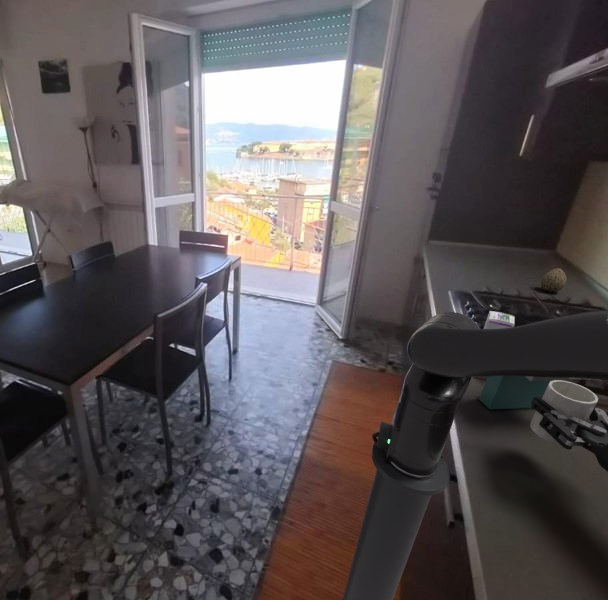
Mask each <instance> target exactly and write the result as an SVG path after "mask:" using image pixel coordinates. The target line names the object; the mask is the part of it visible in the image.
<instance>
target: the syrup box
mask: <svg viewBox="0 0 608 600" xmlns="http://www.w3.org/2000/svg"><path fill="white" fill-rule="evenodd" d="M515 318H516V317H515V315H513V314H509V313H506V312H501V311H493V310H489V311H488V314H487V317H486V320H485V323H484V326H483V329H501V328H511V327H515Z"/></svg>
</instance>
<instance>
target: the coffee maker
mask: <svg viewBox="0 0 608 600" xmlns="http://www.w3.org/2000/svg"><path fill="white" fill-rule="evenodd" d="M554 380H563V381H577V380H578V381H579V380H580V381H581V380H582V381H583V379H564V378H544V377H530V376H487V377H486V381H485V383H484V385H483V389H482V391H481V393H480V396H479V398H478V400H479V401H480V402H481V403H482V404H483V405H484V406H485V407H486V408H488V410H507V409H533V408H532V406H531V403H532V400H533V398H534V397H540V398H541V399H542V397H543V395H544V393H545V391H546V389H547V387H548V385H549V383H550V381H554Z"/></svg>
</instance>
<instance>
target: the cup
mask: <svg viewBox="0 0 608 600" xmlns="http://www.w3.org/2000/svg"><path fill="white" fill-rule="evenodd" d="M542 399H543V400H544V401H545V402H546V403H548V404H549V405H550V406H552V407H553V408H554V409H556V411H558V412H560V413H562V414H564V415H566V416H569V417H570V416H574V417H576V418H579V419H581V420H583V421H586V422H588V420H589V419H590V418H589V416H590V414H591V413H592V411H593V409H594V407H595V408H596V406H597V404H598V402H599V397H598V396H597V394H596V393H594V392H593V391H592V390H590V389H589V388H588V387H584V386H583V385H580V384H577V383H576V382H572V381H569V380H554V381H550V383H549V385H548V387H547V389H546V391H545V393H544V395H543V397H542ZM542 417H543V416H542V415H541V414H539V413H538V412H537V411H536V410H535V413H534V415H533V416H532V419H531V421H530V423H529V427H530V429H531V431H532V432H533V433H534V434H535V435H536V436H538V437H539V438H541V439H542V440H544V441H546V442H548V443H551V444H554V445H558V446H561V445H560V444H559V443H558V442H557V441H556V440H555V439H554V438H553V437H552V436H551V435H550V434H548V433H547V432H546V431H545V430H544V429H543V428H542V427H541V426H540V425H539V423H540V421H541V420H542ZM557 420H558V421H559V422H560V423H562V424H563V425H565V421H563V420H561V419H559V418H558V419H557ZM550 426H551V427H552V425H550ZM576 427H577V424H573V425H572V427H571V430H572V431H573V432H574V433H575V429H576Z"/></svg>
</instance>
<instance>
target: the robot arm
mask: <svg viewBox="0 0 608 600" xmlns="http://www.w3.org/2000/svg"><path fill="white" fill-rule="evenodd" d="M406 347H407V349H406V350H407V351H406V352H407V355H408V358H409V359H410V361H411V363H412V364H411V366H410V368H409V370H408V371H407V373H406V374H405V377H404V380H403V384H402V387H401V390H400V394H399V399H398V402H397V406H396V409H394V412H393V415H392V420H391V423H387V422H384V421H380V424H379V428H378V431H377V432H374V433H372V434H371V439H372V440H373V443H374V442H375V443H376V444H377V447H379V448H382V449H385V460H384V462H385V463H387V464H390V465H391V466H392V467H393V468H394V469H395V470H397V471H398V472H399V473H401V474H403V475H405V476H407V477H410V478H413V479H418V480H425V479H429V478H431V477H433V476H434V474H435V473H436V470H437V466H438V462H439V460H440V457H441V456H442V454H443V452H444V448H445V446H446V442H447V440H448V437H449V434H450V432H451V429H452V426H453V424H454V421H455V418H456V415H457V412H458V410H459V407H460V405H461V402H462V399H463V397H464V396H465V393H466V392H467V390H468V388H469V385H470V384H471V380H472V378H475V377H477V378H479V377H488V376H530V377H544V378H564V379H582V380H587V381H600V382H601V381H602V382H608V308H607V309H599V310H598V309H596V310H588V311H582V312H581V311H580V312H575V313H569V314H564V315H560V316H556V317H551V318H548V319H543V320H540V321H539V320H538V321H534V322H531V323H527V324H521V325H517V326H514V327H511V328H501V329H484V328H481V327H480V326H479V325H478V323H477V322H476V321H475V320H474V319H472V318H471V317H469V316H468V315H465V314H463V313H460V312H454V311H446V312H440V313H437V314H435V315H433V316H432V317H430V318H429V319H427V320H426V321H425V322H424V323H423V324H422V325H421V326H419V327H418V328H417V330H416V331H414V333H413V334H412V335H411V337H410V339H409V341H408V343H407V346H406ZM531 406H532V408H531V409H533V410H534V411H535V412H536V411H537V412H538V413H539V414H541V415H542V416H543V417H542V420H541V421H540V423H539V425H540V426H541V427H542V428H543V429H544V430H545V431H546V432H547V433H548V434H550V435H551V436H552V437H553V438H554V439H555V440H556V441H557V442H558V443H559V444H560V445H559V446H561V447H562V448H563V449H565V450H570V451H571V450H572V448H573V447H581V448H583V449H585V450H587V451H589V452H590V453H592V454H593V455H594V456H595V457H596V461H597V462H598V465H599V466H600V467H601V468H602V469H603V470H605V471H606V472H607V473H608V411H605V410H603V408H602V409H601V408H599V407H596V406H595V407H594V409H593V411H592V413H591V414H590V416H589V418H588V420H589V421H587V422H586V421H583V420H581V419H579V418H576V417H574V416H570V417H569V416H566V415H564V414H562V413H560V412H558V411H556V409H554V408H553V407H552V406H550V405H549V404H548V403H546V402H545V401H544V400H543V399H541V398H540V397H534V398H533V400H532V403H531ZM558 418H559V419H561V420H563V421H565V425H563V424H562V423H560V422H559V421H558V420H557V419H558ZM573 424H577V427H576V429H575V433H574V432H573V431H572V430H571V427H572V425H573ZM550 425H552V427H551V426H550Z"/></svg>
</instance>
